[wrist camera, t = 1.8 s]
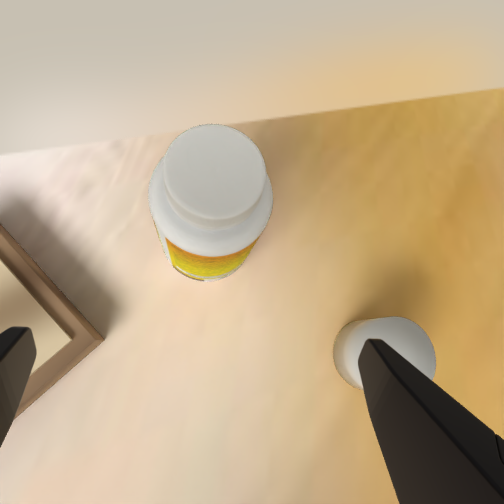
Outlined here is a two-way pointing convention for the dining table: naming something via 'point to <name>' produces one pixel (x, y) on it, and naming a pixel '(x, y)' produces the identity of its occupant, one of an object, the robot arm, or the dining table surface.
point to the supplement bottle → (210, 201)
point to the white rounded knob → (394, 334)
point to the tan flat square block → (41, 319)
